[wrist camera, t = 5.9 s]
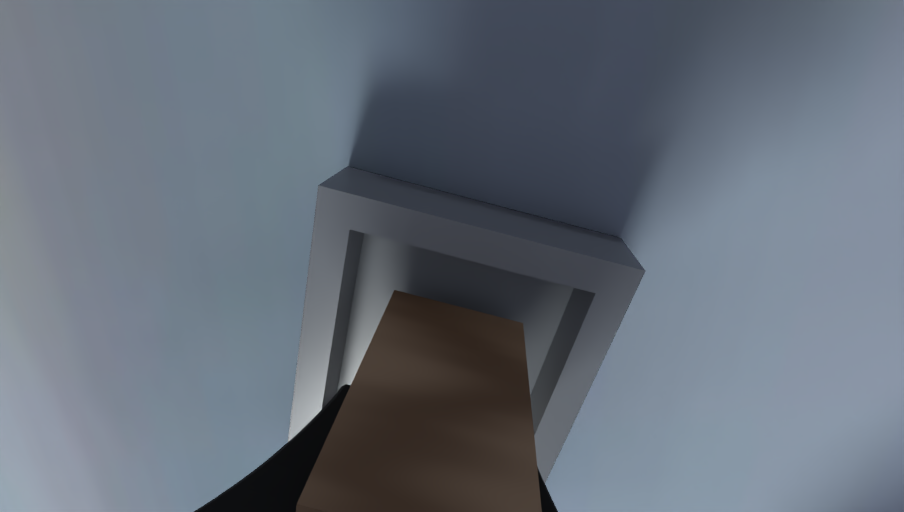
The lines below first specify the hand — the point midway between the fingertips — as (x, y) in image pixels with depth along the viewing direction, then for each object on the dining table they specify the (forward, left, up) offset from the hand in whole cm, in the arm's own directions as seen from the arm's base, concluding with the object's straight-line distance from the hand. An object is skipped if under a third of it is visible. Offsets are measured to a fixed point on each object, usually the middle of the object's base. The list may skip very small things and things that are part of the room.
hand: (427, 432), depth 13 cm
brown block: (0, 0, -2) cm, 2 cm away
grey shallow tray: (0, 0, -4) cm, 4 cm away
